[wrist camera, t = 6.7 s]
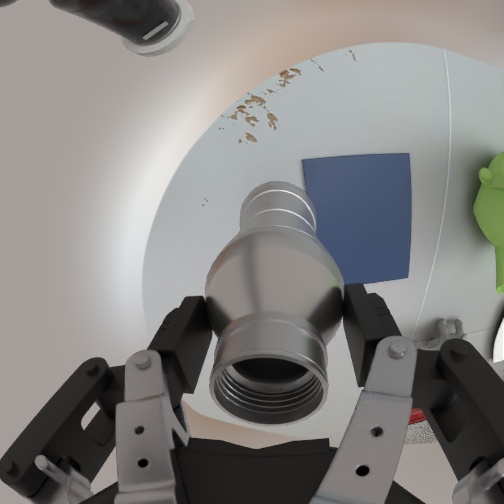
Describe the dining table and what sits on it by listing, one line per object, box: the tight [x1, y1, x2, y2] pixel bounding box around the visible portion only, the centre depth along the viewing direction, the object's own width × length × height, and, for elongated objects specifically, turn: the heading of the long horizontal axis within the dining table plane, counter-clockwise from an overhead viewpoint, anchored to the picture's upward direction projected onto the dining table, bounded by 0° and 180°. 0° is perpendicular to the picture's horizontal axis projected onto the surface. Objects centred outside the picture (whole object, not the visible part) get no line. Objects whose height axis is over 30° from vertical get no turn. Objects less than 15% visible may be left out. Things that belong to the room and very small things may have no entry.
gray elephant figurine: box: [414, 319, 467, 350], centre depth 41 cm, size 9×12×8 cm
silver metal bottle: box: [205, 181, 344, 426], centre depth 17 cm, size 6×7×20 cm
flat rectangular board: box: [303, 153, 411, 284], centre depth 39 cm, size 20×16×1 cm
